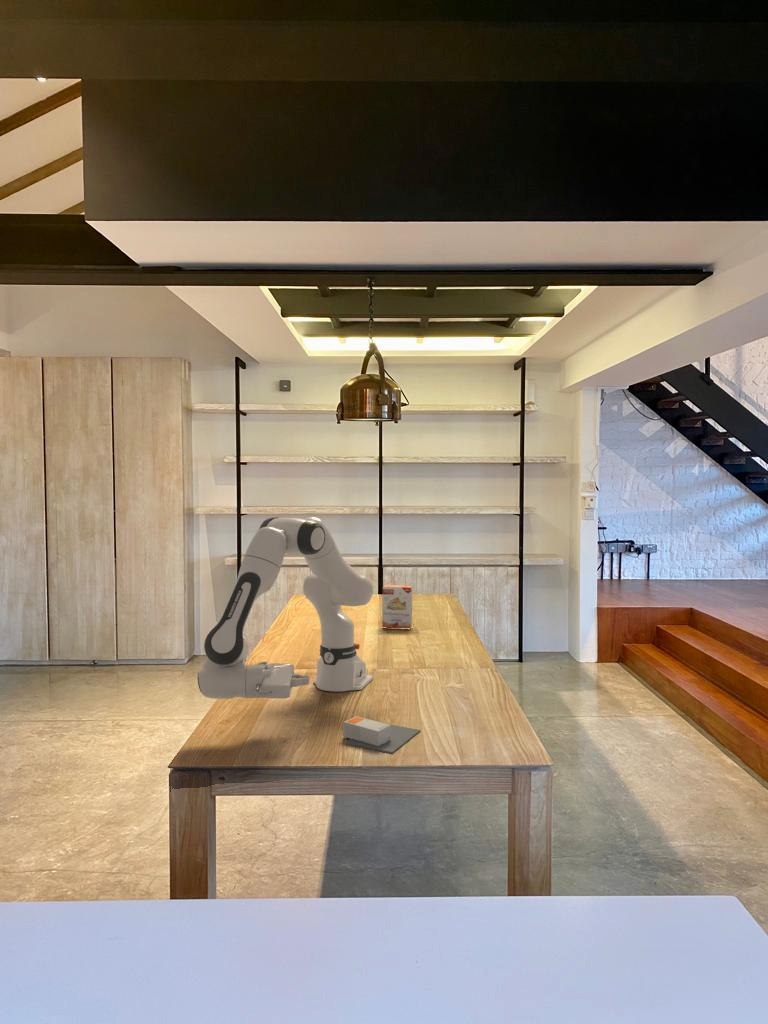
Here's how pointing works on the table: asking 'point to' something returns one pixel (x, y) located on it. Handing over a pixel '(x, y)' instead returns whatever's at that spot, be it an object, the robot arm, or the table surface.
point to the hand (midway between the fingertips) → (309, 679)
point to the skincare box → (367, 731)
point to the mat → (397, 740)
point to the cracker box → (397, 606)
